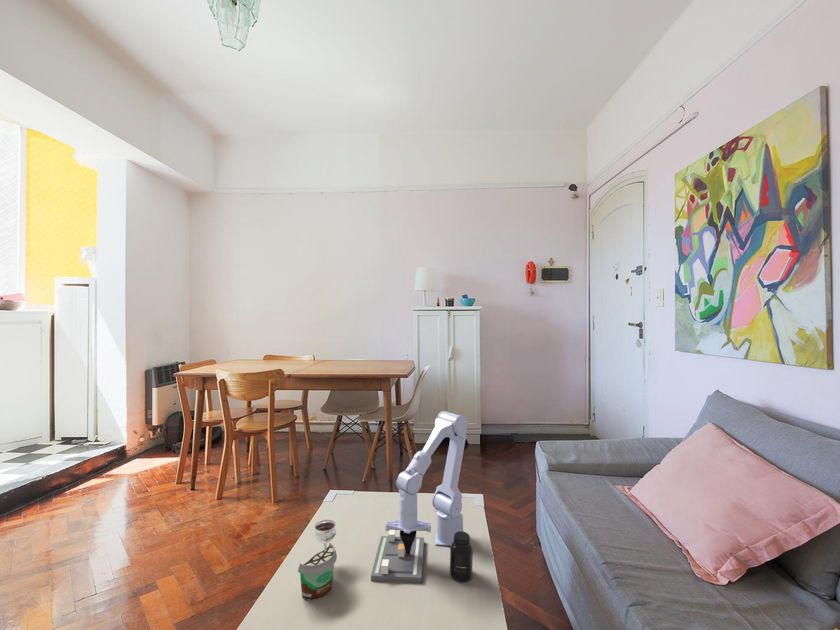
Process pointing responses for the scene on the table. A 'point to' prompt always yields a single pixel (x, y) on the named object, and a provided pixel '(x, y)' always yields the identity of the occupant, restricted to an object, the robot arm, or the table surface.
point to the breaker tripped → (401, 550)
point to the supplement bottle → (461, 557)
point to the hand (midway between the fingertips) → (408, 552)
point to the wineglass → (325, 531)
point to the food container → (318, 574)
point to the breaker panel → (399, 561)
